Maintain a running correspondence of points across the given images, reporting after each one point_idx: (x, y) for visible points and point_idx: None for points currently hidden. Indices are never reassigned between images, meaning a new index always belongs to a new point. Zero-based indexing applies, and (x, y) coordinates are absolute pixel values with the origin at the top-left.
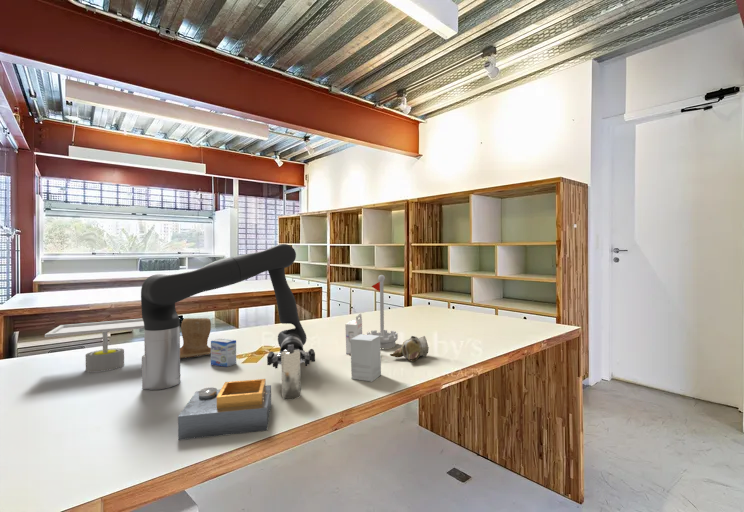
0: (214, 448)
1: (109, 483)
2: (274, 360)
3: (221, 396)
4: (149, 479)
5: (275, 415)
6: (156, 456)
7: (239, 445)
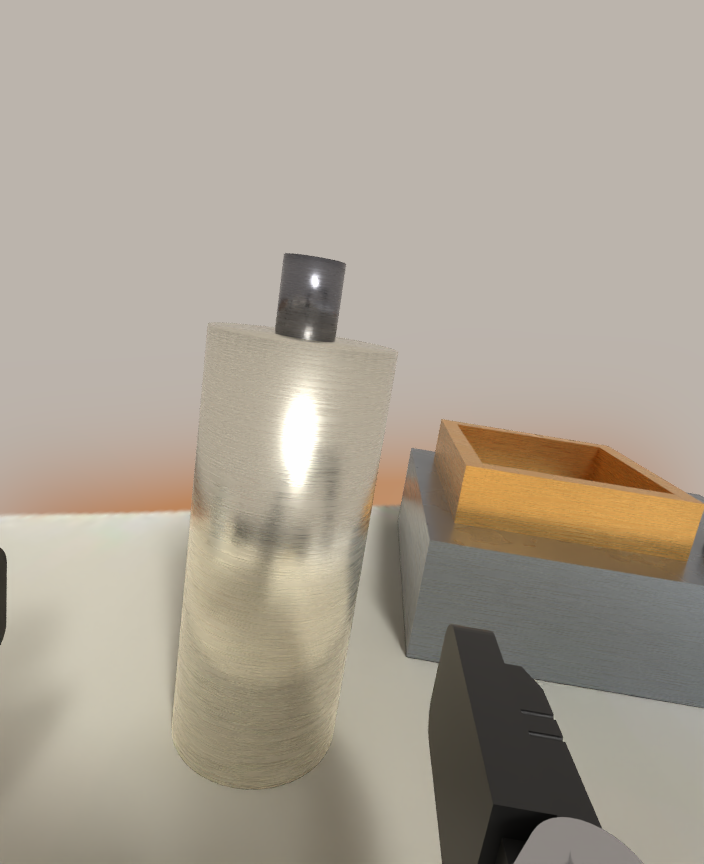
0: None
1: None
2: (533, 741)
3: (592, 444)
4: None
5: (374, 571)
6: None
7: None
